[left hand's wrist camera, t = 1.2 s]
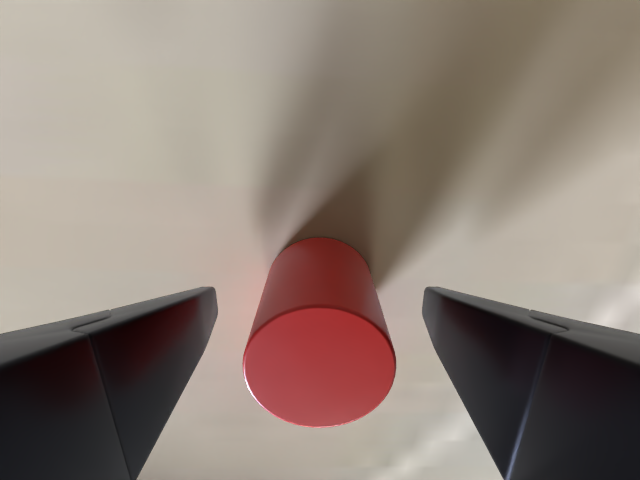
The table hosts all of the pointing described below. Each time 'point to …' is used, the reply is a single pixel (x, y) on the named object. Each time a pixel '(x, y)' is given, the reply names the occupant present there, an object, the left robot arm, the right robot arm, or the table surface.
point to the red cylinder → (319, 338)
